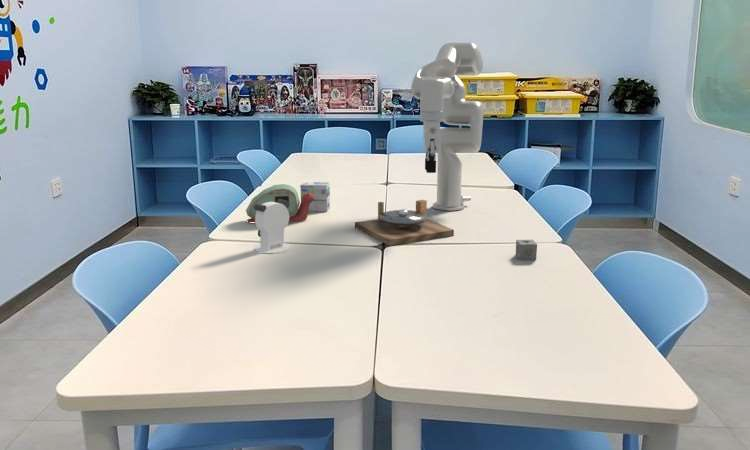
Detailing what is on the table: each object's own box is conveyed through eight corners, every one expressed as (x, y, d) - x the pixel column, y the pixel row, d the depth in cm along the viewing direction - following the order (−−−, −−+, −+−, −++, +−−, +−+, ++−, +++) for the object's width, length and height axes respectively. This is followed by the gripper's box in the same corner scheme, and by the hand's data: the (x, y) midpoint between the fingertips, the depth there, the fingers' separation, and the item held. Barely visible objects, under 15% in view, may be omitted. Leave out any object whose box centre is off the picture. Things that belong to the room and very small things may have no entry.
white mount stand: (275, 240, 214) (273, 196, 210) (299, 247, 207) (298, 201, 203) (247, 249, 205) (244, 203, 201) (271, 256, 198) (269, 208, 194)
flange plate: (403, 227, 212) (403, 212, 211) (370, 218, 224) (370, 204, 222) (440, 217, 224) (441, 203, 223) (407, 209, 236) (407, 196, 234)
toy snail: (245, 225, 234) (243, 187, 230) (247, 219, 241) (245, 183, 237) (315, 222, 237) (314, 185, 233) (314, 217, 244) (313, 181, 240)
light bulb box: (330, 208, 258) (330, 181, 255) (327, 212, 252) (327, 184, 249) (304, 207, 259) (303, 181, 256) (300, 211, 253) (299, 184, 250)
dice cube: (531, 255, 199) (532, 239, 197) (536, 260, 194) (537, 244, 192) (515, 255, 198) (516, 239, 197) (519, 260, 194) (520, 244, 192)
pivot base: (415, 219, 241) (415, 195, 238) (453, 235, 219) (454, 209, 217) (354, 227, 229) (354, 203, 227) (389, 245, 208) (389, 218, 206)
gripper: (445, 119, 206) (444, 175, 211) (440, 114, 222) (438, 166, 227) (421, 119, 206) (421, 175, 211) (418, 114, 222) (417, 166, 227)
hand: (430, 170), depth 219 cm, fingers open, 4 cm apart
